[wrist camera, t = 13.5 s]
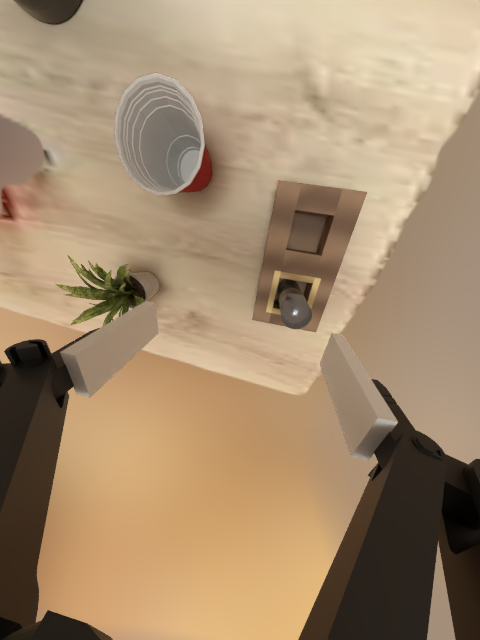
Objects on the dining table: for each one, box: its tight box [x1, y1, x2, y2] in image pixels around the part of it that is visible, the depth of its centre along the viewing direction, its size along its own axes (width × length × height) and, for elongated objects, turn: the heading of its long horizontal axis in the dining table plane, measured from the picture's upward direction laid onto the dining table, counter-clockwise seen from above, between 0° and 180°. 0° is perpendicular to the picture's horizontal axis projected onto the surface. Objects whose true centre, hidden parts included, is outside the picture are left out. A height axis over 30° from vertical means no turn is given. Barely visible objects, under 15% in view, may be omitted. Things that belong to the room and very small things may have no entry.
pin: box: [277, 279, 312, 329], centre depth 31 cm, size 4×4×13 cm
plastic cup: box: [114, 73, 212, 196], centre depth 26 cm, size 11×11×12 cm
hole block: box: [252, 180, 367, 332], centre depth 33 cm, size 22×12×5 cm, turn 172°
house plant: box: [56, 256, 160, 326], centre depth 35 cm, size 14×14×16 cm
